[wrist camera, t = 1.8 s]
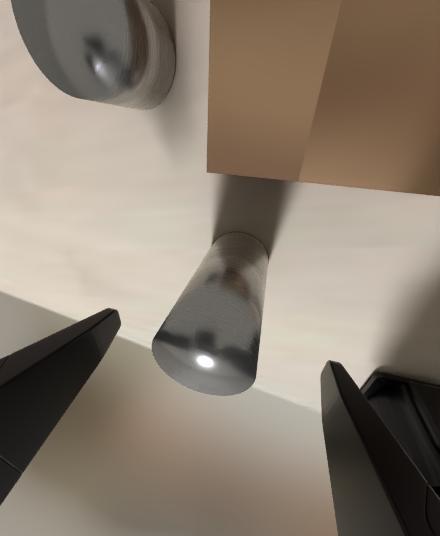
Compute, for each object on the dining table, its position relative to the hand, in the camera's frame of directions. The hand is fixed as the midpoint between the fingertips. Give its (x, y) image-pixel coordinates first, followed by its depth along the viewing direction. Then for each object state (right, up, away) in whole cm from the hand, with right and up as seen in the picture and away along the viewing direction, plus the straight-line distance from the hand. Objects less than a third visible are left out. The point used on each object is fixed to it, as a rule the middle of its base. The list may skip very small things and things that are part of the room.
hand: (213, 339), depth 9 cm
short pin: (-4, +13, +1) cm, 14 cm away
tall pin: (+2, +3, +6) cm, 7 cm away
